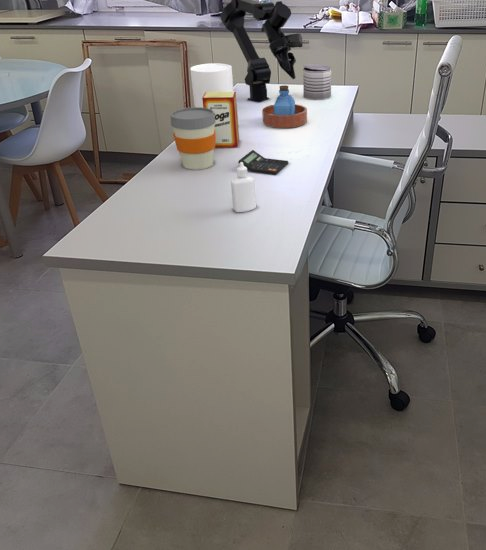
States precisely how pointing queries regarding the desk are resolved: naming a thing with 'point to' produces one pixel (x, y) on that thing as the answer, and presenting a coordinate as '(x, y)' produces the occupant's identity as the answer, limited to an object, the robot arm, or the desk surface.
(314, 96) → the can
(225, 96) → the baking soda box
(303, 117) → the bowl
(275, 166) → the calculator
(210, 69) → the canister
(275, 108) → the perfume bottle
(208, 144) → the reusable coffee cup
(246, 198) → the eye dropper bottle
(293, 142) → the desk surface
